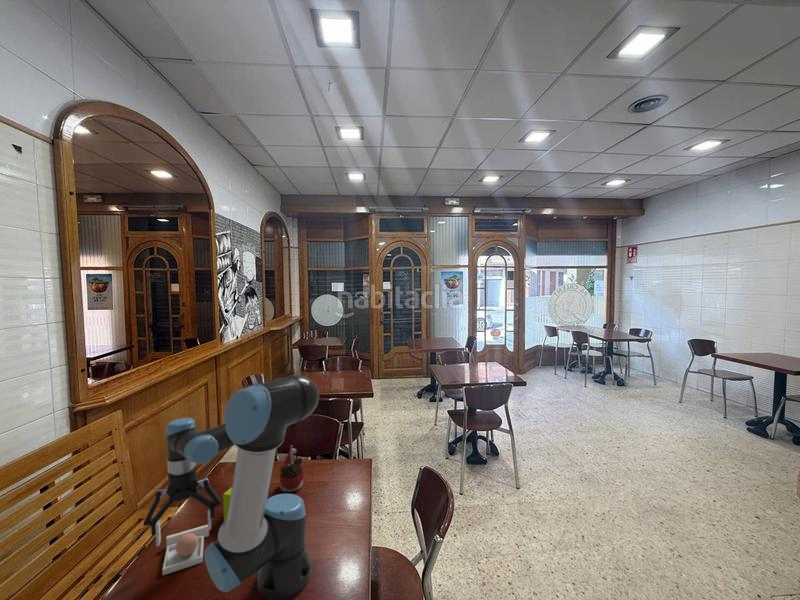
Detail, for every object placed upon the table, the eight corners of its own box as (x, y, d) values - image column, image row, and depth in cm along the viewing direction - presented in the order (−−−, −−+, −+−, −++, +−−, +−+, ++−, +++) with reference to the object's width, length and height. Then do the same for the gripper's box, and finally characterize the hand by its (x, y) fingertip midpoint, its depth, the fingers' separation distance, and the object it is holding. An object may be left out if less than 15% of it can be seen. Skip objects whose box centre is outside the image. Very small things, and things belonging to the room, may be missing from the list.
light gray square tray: (202, 562, 104) (202, 556, 104) (162, 575, 100) (162, 569, 99) (203, 540, 113) (203, 535, 113) (167, 551, 109) (167, 546, 108)
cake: (289, 496, 137) (289, 453, 136) (274, 489, 141) (273, 448, 141) (309, 483, 146) (308, 443, 145) (293, 477, 151) (293, 438, 150)
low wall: (208, 536, 115) (208, 526, 115) (166, 549, 109) (166, 538, 109) (208, 533, 116) (208, 524, 116) (167, 546, 111) (166, 536, 110)
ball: (194, 560, 105) (200, 540, 106) (172, 562, 102) (178, 542, 103) (195, 546, 110) (201, 528, 111) (174, 548, 108) (180, 529, 108)
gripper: (226, 454, 114) (228, 515, 115) (135, 474, 103) (138, 542, 103) (227, 464, 108) (229, 528, 108) (129, 486, 96) (132, 559, 97)
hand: (184, 535), depth 106 cm, fingers open, 13 cm apart
